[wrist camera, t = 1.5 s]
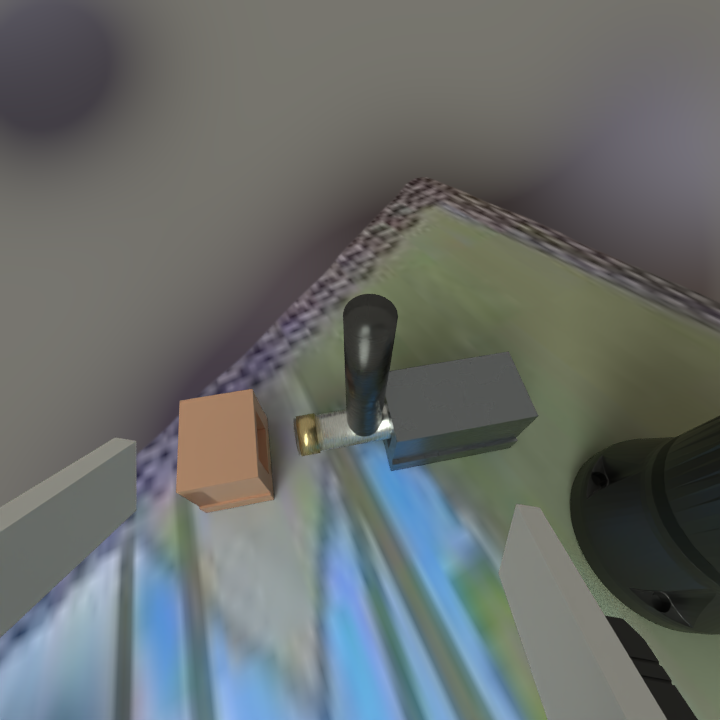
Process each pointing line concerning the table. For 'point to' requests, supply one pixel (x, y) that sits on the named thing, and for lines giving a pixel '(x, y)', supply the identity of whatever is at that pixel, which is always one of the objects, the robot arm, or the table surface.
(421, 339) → the table surface
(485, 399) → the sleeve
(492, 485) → the table surface
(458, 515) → the table surface
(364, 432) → the l-shaped tool
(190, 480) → the tan box
